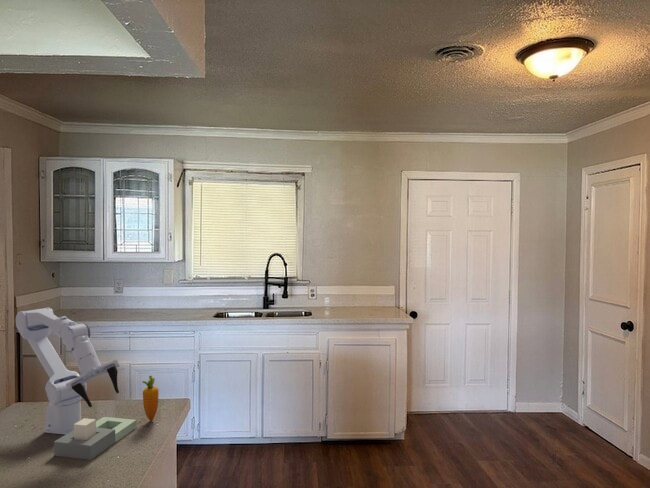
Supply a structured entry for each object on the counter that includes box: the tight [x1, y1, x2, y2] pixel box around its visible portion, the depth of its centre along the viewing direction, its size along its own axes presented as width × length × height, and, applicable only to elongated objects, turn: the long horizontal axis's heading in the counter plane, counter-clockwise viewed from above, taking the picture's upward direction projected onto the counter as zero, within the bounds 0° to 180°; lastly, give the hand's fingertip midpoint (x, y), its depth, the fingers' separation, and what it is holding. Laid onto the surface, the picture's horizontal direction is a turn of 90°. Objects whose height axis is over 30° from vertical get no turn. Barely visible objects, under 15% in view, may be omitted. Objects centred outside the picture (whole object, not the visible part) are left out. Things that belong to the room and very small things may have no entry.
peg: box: [74, 417, 97, 441], centre depth 127 cm, size 4×4×6 cm
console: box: [53, 416, 137, 461], centre depth 132 cm, size 20×12×4 cm, turn 168°
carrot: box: [142, 375, 159, 422], centre depth 144 cm, size 5×5×15 cm
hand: (104, 399), depth 129 cm, fingers open, 7 cm apart
